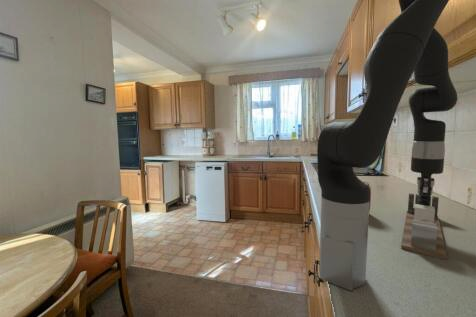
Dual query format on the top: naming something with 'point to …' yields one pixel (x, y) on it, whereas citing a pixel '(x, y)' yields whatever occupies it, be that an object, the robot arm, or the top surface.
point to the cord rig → (423, 232)
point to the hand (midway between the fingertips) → (423, 212)
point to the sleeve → (424, 213)
